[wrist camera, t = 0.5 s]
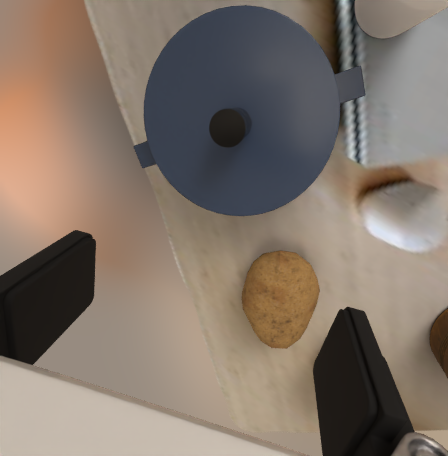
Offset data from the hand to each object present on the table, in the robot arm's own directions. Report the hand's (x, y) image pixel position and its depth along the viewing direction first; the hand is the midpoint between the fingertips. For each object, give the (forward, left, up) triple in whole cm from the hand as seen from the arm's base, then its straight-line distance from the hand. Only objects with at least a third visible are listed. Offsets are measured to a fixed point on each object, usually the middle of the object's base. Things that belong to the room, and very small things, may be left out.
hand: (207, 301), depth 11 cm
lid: (-5, -1, -20) cm, 21 cm away
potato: (+17, +3, -28) cm, 33 cm away
